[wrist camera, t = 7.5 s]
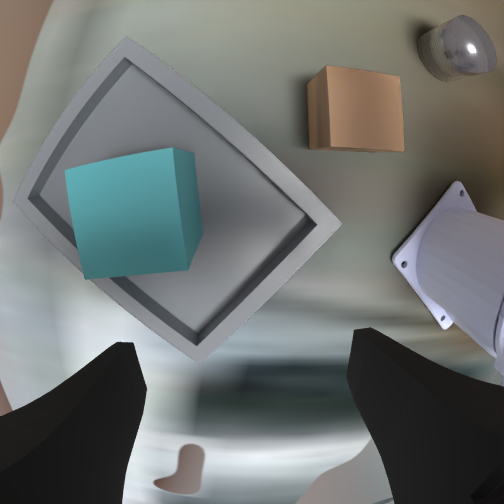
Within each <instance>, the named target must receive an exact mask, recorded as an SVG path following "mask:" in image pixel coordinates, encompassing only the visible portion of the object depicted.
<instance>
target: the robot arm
mask: <svg viewBox="0 0 504 504" xmlns="http://www.w3.org/2000/svg"><path fill="white" fill-rule="evenodd" d="M460 191H461V195H460ZM403 261H405V263H404V265H403V266H401V264H402V262H403ZM392 262H393V264H394V265H395V266H396V267H397V269H398V270H399V271H400V273H401V274H402V275H403V276H404V278H405V279H406V280H407V281H408V283H409V284H410V285H411V287H412V288H413V289H414V291H415V292H416V293H417V294H418V296H419V297H420V298H421V300H422V301H423V303H424V304H425V305H426V307H427V308H428V309H429V311H430V312H431V313H432V315H433V316H434V318H435V319H436V321H437V322H438V323H439V325H440V326H441V327H442V328H443V329H447V328H448V327H449V326H450V325H451V324H452V323H453V322H454V323H455V324H456V325H457V326H458V327H460V328H461V329H462V330H463V331H464V332H465V333H467V334H468V335H469V336H470V337H471V338H472V339H473V340H475V341H476V342H477V343H478V344H479V345H480V346H481V347H482V348H484V349H485V350H486V351H487V352H488V353H489V354H490V355H492V356H493V357H495V358H496V361H495V363H494V367H495V368H496V369H497V370H498V371H499V372H500V373H501V374H502V375H503V376H504V221H503V220H500V219H497V218H494V217H491V216H488V215H485V214H482V213H478V212H477V211H476V209H475V207H474V205H473V203H472V201H471V199H470V197H469V195H468V193H467V192H466V190H465V188H464V186H463V184H462V183H461V182H459V181H454V182H453V184H452V185H451V186H450V187H449V189H448V190H447V191H446V193H445V194H444V195H443V197H442V198H441V199H440V200H439V202H438V203H437V204H436V205H435V207H434V208H433V209H432V210H431V212H430V213H429V214H428V215H427V216H426V218H425V219H424V220H423V221H422V222H421V224H420V225H419V226H418V227H417V228H416V230H415V231H414V232H413V233H412V234H411V235H410V237H409V238H408V239H407V240H406V241H405V242H404V243H403V245H402V246H401V247H400V248H399V249H398V250H397V251H396V252H395V253H394V255H393V257H392ZM441 317H442V318H441ZM346 377H347V381H348V384H349V387H350V390H351V393H352V396H353V399H354V402H355V404H356V406H357V408H358V410H359V412H360V414H361V416H362V418H363V420H364V422H365V424H366V426H367V428H368V430H369V432H370V434H371V436H372V438H373V440H374V442H375V445H376V447H377V449H378V451H379V453H380V456H381V458H382V461H383V464H384V467H385V471H386V474H387V477H388V480H389V484H390V488H391V491H392V495H393V499H394V503H395V504H504V377H503V380H502V383H501V386H499V385H495V384H491V383H487V382H484V381H480V380H477V379H474V378H471V377H468V376H465V375H463V374H460V373H457V372H455V371H452V370H450V369H448V368H445V367H443V366H441V365H439V364H437V363H435V362H433V361H431V360H429V359H427V358H425V357H423V356H421V355H419V354H418V353H416V352H414V351H412V350H410V349H409V348H407V347H405V346H403V345H402V344H400V343H398V342H396V341H395V340H393V339H391V338H389V337H388V336H386V335H384V334H382V333H381V332H379V331H377V330H375V329H373V328H371V327H370V328H363V329H356V330H354V334H353V340H352V347H351V353H350V359H349V364H348V370H347V375H346ZM146 392H147V387H146V384H145V381H144V377H143V374H142V371H141V367H140V364H139V361H138V357H137V354H136V350H135V346H134V343H132V342H116V343H115V344H113V345H112V346H110V347H109V348H108V349H106V350H105V351H104V352H102V353H101V354H100V355H98V356H97V357H96V358H95V359H93V360H92V361H91V362H89V363H88V364H87V365H86V366H84V367H83V368H82V369H80V370H79V371H78V372H77V373H75V374H74V375H72V376H71V377H70V378H68V379H67V380H65V381H64V382H63V383H61V384H60V385H58V386H57V387H55V388H54V389H53V390H51V391H50V392H48V393H46V394H45V395H43V396H41V397H40V398H38V399H36V400H34V401H33V402H31V403H29V404H27V405H25V406H23V407H21V408H19V409H16V410H14V411H12V412H10V413H7V414H5V415H3V416H0V504H122V498H123V489H124V482H125V475H126V470H127V466H128V462H129V459H130V455H131V452H132V448H133V445H134V442H135V438H136V435H137V432H138V429H139V425H140V422H141V419H142V415H143V411H144V405H145V399H146Z"/></svg>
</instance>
